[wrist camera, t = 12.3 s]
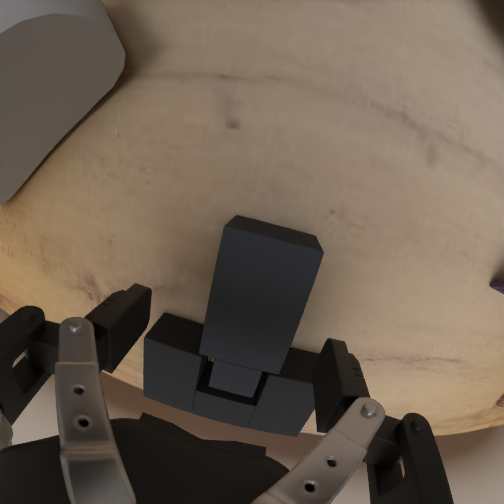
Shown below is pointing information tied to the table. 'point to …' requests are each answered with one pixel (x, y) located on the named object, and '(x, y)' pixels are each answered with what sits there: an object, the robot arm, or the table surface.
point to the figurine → (501, 401)
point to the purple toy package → (498, 286)
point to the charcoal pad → (256, 301)
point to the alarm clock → (49, 77)
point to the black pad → (218, 401)
